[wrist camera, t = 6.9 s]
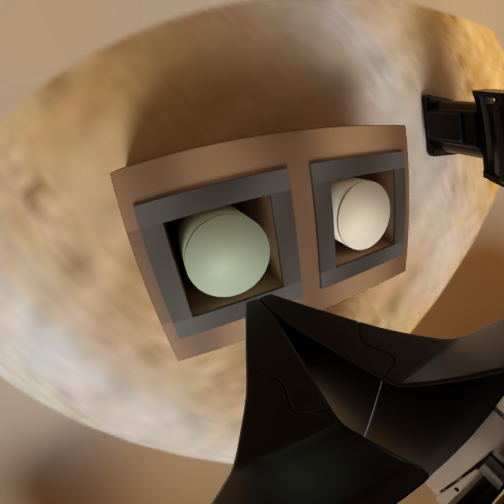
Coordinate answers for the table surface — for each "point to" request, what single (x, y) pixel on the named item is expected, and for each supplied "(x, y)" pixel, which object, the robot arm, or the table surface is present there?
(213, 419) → the table surface
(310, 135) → the walnut block
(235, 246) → the sage peg
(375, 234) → the cream peg
